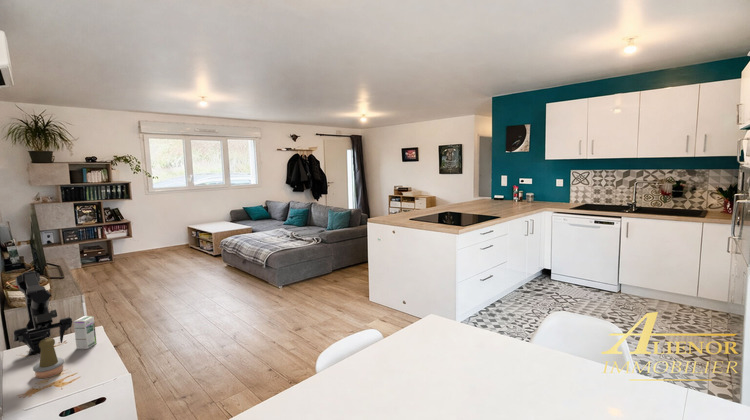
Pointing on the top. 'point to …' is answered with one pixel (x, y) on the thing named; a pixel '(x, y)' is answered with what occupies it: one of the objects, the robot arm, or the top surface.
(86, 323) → the syrup box
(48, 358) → the cork
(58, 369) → the bowl
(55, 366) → the lid
